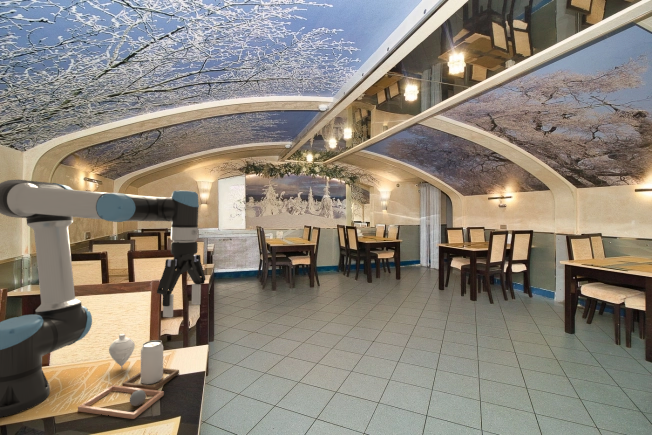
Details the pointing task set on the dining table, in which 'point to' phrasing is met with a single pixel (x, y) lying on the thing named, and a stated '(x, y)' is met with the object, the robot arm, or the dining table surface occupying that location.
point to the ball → (137, 397)
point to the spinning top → (121, 349)
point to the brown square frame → (129, 384)
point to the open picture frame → (117, 413)
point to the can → (151, 362)
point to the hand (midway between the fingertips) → (182, 310)
